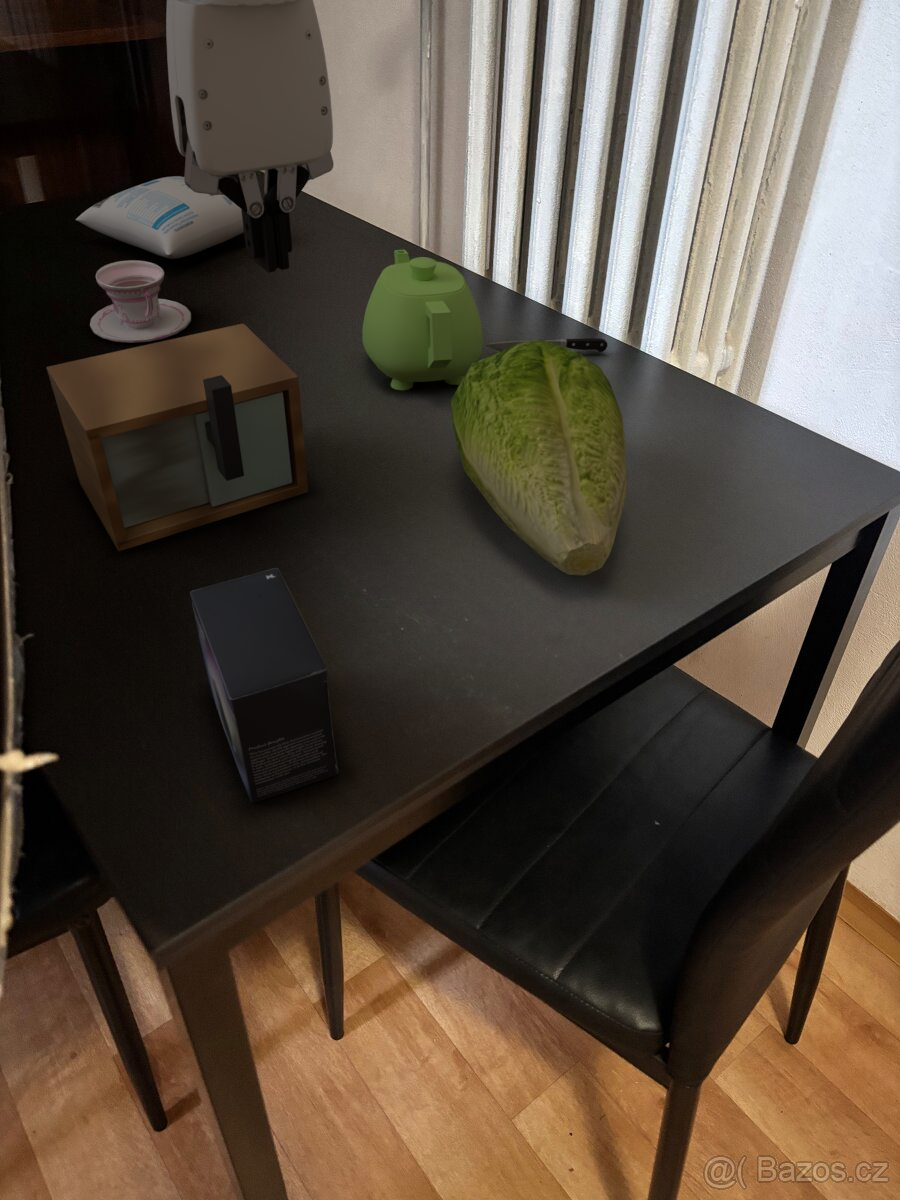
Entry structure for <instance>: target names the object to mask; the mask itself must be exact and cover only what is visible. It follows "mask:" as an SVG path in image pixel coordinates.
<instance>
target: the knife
mask: <svg viewBox="0 0 900 1200" xmlns="http://www.w3.org/2000/svg"><path fill="white" fill-rule="evenodd" d="M536 340H537V339H534V340H533V339H532V340H531V339H530V340H529V339H528V340H506V341H496V342H489V343H486V344H484V346H485V347H486V348H488V349H490V350H493V351H497V352H501V351H503V350H505V349H507V348H509V347H511V346H513V345H515V344H517V343H522V342H529V341H536ZM544 340H545V341H548V342H551V343H554V344H557V345H560V346H562V347H565V348H567V349H570V350H581V351H591V350H593V351H594V350H595V351H597V352H599V353H603V352H605V351H606V350H607V348H608V345H609V344H608V342H607V341H606V339H604V338H599V337H598V338H595V337H594V338H593V337H590V338H589V337H588V338H586V337H585V338H560V339H544Z"/></svg>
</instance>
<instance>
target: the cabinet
mask: <svg viewBox="0 0 900 1200" xmlns="http://www.w3.org/2000/svg"><path fill="white" fill-rule="evenodd" d="M46 371H47V374H48V378H49V381H50V385H51V389H52V392H53V395H54V398H55V402H56V405H57V409H58V412H59V416H60V420H61V423H62V426H63V430H64V433H65V436H66V440H67V443H68V447H69V451H70V454H71V458H72V461H73V463H74V466H75V467H74V468H75V471H76V475H77V478H78V481H79V485H80V487H81V488H82V490H83V491H84V493H85V495H86V496H87V498H88V500H89V502H90V504H91V506H92V508H93V509H94V511H95V513H96V514H97V516H98V518H99V519H100V522H101V523H102V525H103V527H104V529H105V530H106V532H107V534H108V537H110V539H111V541H112V543H113V544H114V546H115V548H116V549H117V551H118V552H121V551H125V550H128V549H131V548H134V547H138V546H141V545H144V544H147V543H150V542H154V541H157V540H161V539H164V538H166V537H170V536H174V535H176V534H180V533H183V532H185V531H188V530H189V531H190V530H192V529H195V528H198V527H201V526H205V525H209V524H211V523H215V522H218V521H220V520H224V519H227V518H230V517H234V516H237V515H240V514H243V513H246V512H250V511H253V510H255V509H259V508H263V507H266V506H268V505H271V504H275V503H279V502H281V501H285V500H287V499H291V498H294V497H297V496H301V495H304V494H307V493H309V482H308V472H307V471H308V470H307V460H306V459H307V458H306V448H305V439H304V427H303V416H302V415H303V414H302V406H301V394H300V382H299V376H298V375H297V374H296V373H295V372H294V371H293V370H292V369H291V368H290V367H289V366H288V365H287V364H286V363H285V362H284V361H283V360H282V359H281V358H280V357H279V356H278V355H276V353H275V352H274V351H273V350H272V349H270V348H269V347H268V346H267V345H266V344H265V342H263V341H262V339H260V338H259V337H258V335H256V334H255V332H253V331H252V330H251V329H250V328H249V327H248V325H246V324H245V323H240V324H239V323H238V324H235V325H230V326H225V327H222V328H217V329H211V330H207V331H202V332H199V333H194V334H190V335H184V336H181V337H176V338H171V339H165V340H162V341H158V342H157V341H156V342H153V343H148V344H144V345H139V346H135V347H130V348H125V349H121V350H117V351H112V352H108V353H104V354H99V355H95V356H89V357H86V358H81V359H76V360H71V361H67V362H63V363H57V364H54V365H49V366H46ZM220 375H222V376H223V377H224V378H225V379H226V380H227V381H228V382H229V384H230V385H231V388H232V395H233V401H234V403H238V402H242V401H246V400H250V399H254V398H258V397H261V396H265V395H269V394H273V393H277V392H281V391H282V392H283V398H284V407H285V417H286V427H287V436H288V446H289V455H290V465H291V475H292V483H289V484H286V485H283V486H280V487H276V488H273V489H270V490H266V491H263V492H260V493H257V494H253V495H250V496H247V497H244V498H240V499H237V500H234V501H231V502H227V503H224V504H221V505H217V506H214V507H212V505H211V504H210V499H209V493H208V487H207V482H206V476H205V471H204V465H203V459H202V454H201V448H200V443H199V437H198V431H197V426H196V420H195V415H194V414H196V413H200V412H204V411H207V410H208V407H207V401H206V395H205V389H204V383H203V379H207V378H211V377H216V376H220Z"/></svg>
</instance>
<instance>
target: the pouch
mask: <svg viewBox="0 0 900 1200" xmlns="http://www.w3.org/2000/svg"><path fill="white" fill-rule="evenodd" d="M75 221H76V222H77V221H78V222H79V223H81V224H82V225H84V226H86V227H88V228H90V229H92V230H93V231H96V232H98V233H100V234H102V235H105V236H106V237H110V238H111V239H114V240H117V241H120V242H122V243H125V244H126V245H130V246H133V247H135V248H139V249H142V250H145V251H146V252H149V253H152V254H153V255H157V256H159V257H162V258H165V259H169V260H177V259H178V260H179V259H181V258H185V257H186V258H187V257H189V256H193V255H196V254H198V253H200V252H202V251H205V250H208V249H210V248H212V247H215V246H218V245H219V244H222V243H225V242H227V241H230V240H231V239H234V238H236V237H238V236H239V235H241V234H244V228H243V220H242V211H241V208H240V207H238V206H237V205H236V204H235V203H233V202H232V201H231V200H230V199H229V198H227V197H226V196H225V195H213V194H204V193H196V192H194V191H193V190H191V189H190V188H189V187H188V186H187V185H186V184H185V181H184V176H180V175H179V176H178V175H175V176H174V175H173V176H166V177H165V176H164V177H160V178H157V179H152V180H150V181H147V182H144V183H141V184H138V185H135V186H132V187H130V188H128V189H125V190H121V191H119V192H117V193H115V194H113V195H111V196H109V197H106V198H104V199H102V200H101V201H98V202H96V203H95V204H93V205H92V206H90V207H89V208H87V209H86V210H85V211H84V212H82V213H81V214H80V215H79V216H77V218H75ZM207 248H208V249H207Z"/></svg>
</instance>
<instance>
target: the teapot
mask: <svg viewBox="0 0 900 1200" xmlns="http://www.w3.org/2000/svg"><path fill="white" fill-rule="evenodd" d="M393 252H394V253H393V255H394V264H391V265H388V266H387V267H384V268H383V270H382V271H381V273H380V275H379V277H378V278H377V280H376V282H375V285H374V287H373V290H372V292H371V293H370V296H369V298H368V302H367V305H366V309H365V311H364V317H363V322H362V331H361V332H362V333H361V335H362V336H361V337H362V345H363V347H364V351H365V352H366V354H367V356H368V357H369V359H370V361H372V363H373V364H374V365H375V366H376V367H377V369H378V370H379V371H380V372H382V373H383V374H384V375H385V376H387V377H389V378H391V379H392V380H391V382H390V387H391V388H392V389H394V390H397V391H408V390H410V389H412V388H413V387H414V383H424V382H426V383H427V382H437V381H444V383H446V384H447V385H453V386H459V385H460V383H461V381H462V379H463V378H464V376H465V374H466V373H467V371H468V369H469V368H470V366H471V364H472V363H474V362H477V361H479V360H480V358H481V356H482V353H483V348H484V335H483V326H482V319H481V315H480V312H479V308H478V306H477V303H476V300H475V298H474V296H473V294H472V291H471V289H470V287H469V285H468V283H467V281H466V279H465V277H464V276H463V274H462V273H461V272H460V271H459V270H458V269H456V267H454V266H452V265H450V264H448V263H446V262H442V261H437V260H436V259H433V258H431V257H426V256H418V257H415V258H410V256H409V252H408V251H407V250H405V249H394V251H393Z"/></svg>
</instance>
